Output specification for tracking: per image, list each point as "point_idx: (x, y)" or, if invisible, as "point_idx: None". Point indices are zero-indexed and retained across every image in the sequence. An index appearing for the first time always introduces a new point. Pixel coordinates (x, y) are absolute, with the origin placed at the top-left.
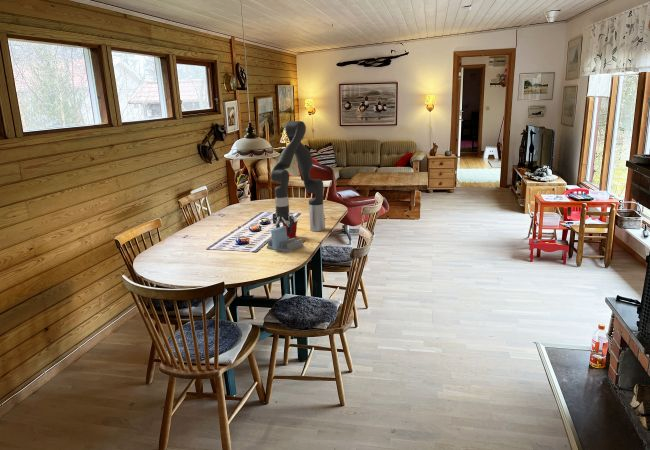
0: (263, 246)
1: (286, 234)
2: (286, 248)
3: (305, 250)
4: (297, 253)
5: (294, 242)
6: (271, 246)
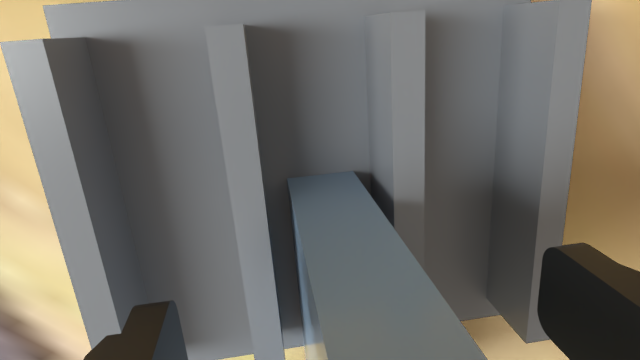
0: (20, 323)
1: (408, 256)
2: (454, 286)
3: (637, 124)
4: (604, 253)
5: (559, 209)
6: (214, 347)
